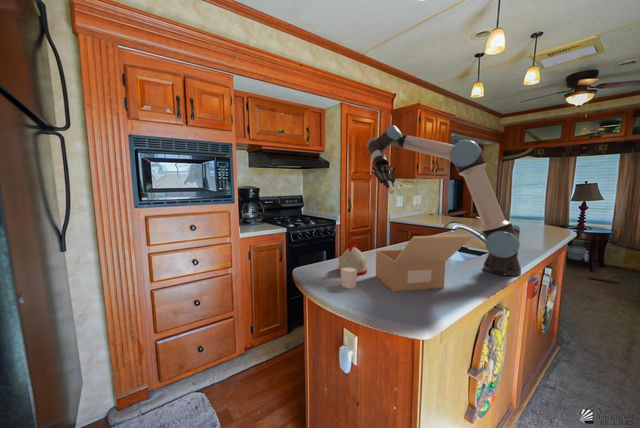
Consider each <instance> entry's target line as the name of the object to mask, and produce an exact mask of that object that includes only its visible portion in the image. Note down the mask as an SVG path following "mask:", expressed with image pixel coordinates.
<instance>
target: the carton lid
mask: <svg viewBox="0 0 640 428" xmlns="http://www.w3.org/2000/svg"><path fill="white" fill-rule="evenodd" d="M473 237H474V235H473V233H472V234H469V233H468V234H446V235H445V234H444V235H415V236H412V237H411V239H410V240H409V241H408V242H407V244H406V245H404V248H402V249H403V250H402V252H401V253H400V254H399V256H398V257H397V258H396V260H395V261H394V262H395V263H405V262H425V261H444V260H445V261H448V260H449V259H451V257H452V256H453V255H454V254H455V253H456V252H458V251H459V250H460V249H461V248H462V247H464V245H465V244H467V243H468V242H469V241H470V240H471V239H472V238H473Z"/></svg>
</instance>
